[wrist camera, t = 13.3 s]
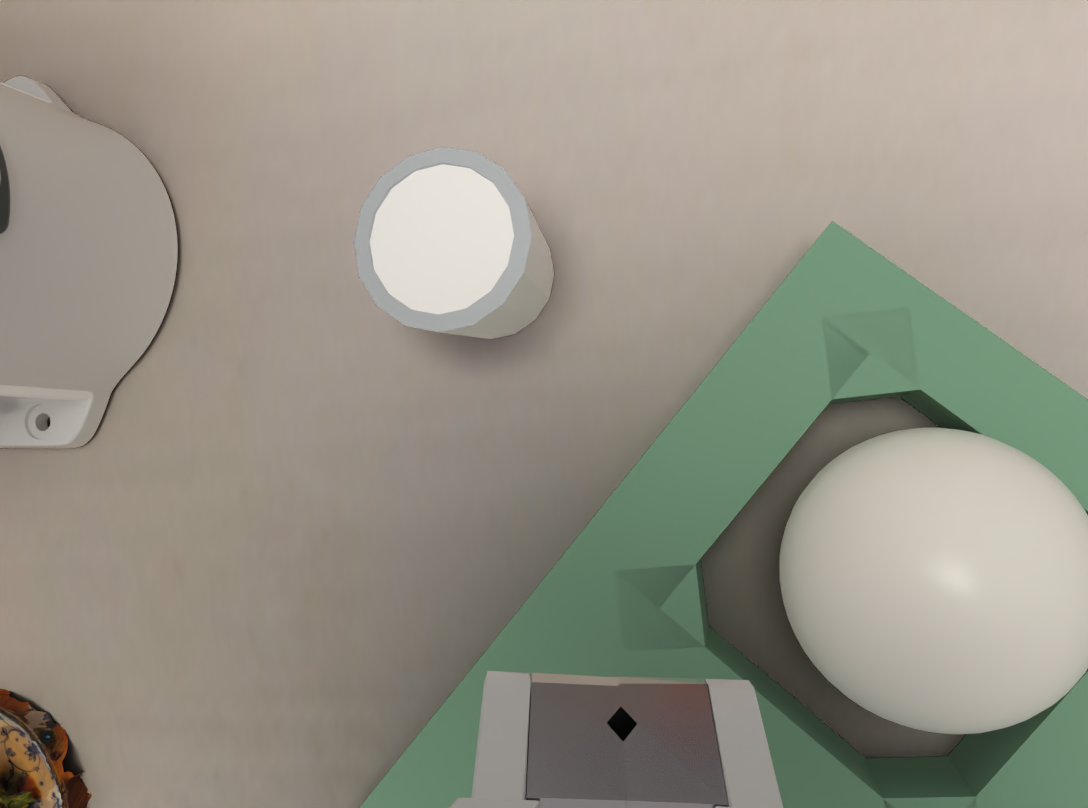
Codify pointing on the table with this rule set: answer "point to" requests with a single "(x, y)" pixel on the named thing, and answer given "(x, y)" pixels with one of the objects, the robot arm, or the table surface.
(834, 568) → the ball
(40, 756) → the burger
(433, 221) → the white cup
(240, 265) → the table surface
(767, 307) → the green cutout tray
